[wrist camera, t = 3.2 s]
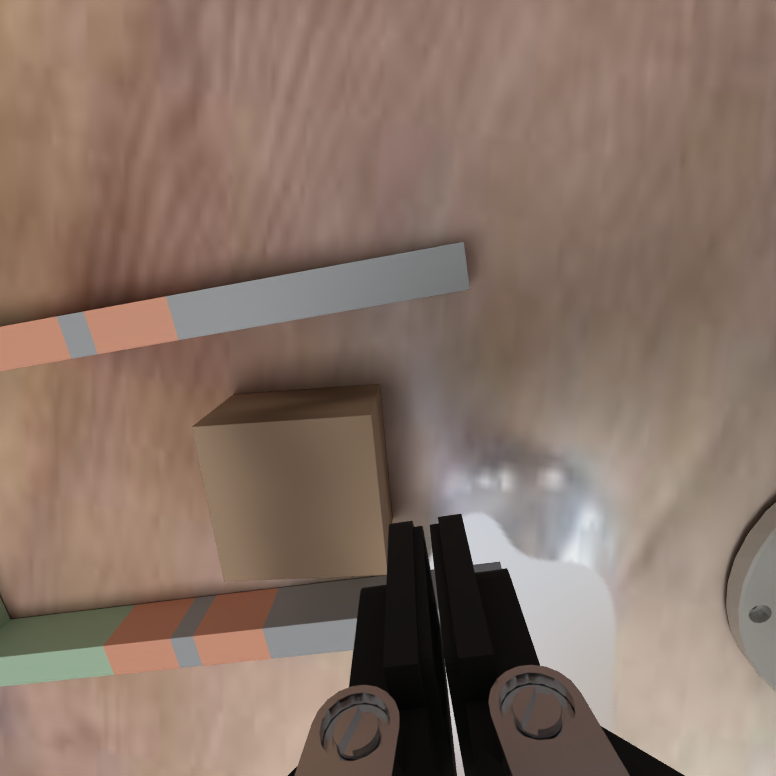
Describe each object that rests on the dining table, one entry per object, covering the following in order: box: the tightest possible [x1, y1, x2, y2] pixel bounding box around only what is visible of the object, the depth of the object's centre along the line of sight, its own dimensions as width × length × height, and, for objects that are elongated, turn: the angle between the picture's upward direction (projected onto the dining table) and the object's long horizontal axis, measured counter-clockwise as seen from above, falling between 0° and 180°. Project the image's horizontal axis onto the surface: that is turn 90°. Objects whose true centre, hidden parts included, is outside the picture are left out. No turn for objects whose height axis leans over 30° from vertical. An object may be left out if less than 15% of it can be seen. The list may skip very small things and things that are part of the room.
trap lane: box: [0, 242, 502, 686], centre depth 20 cm, size 25×15×2 cm, turn 100°
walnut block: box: [192, 384, 393, 581], centre depth 19 cm, size 6×6×4 cm
